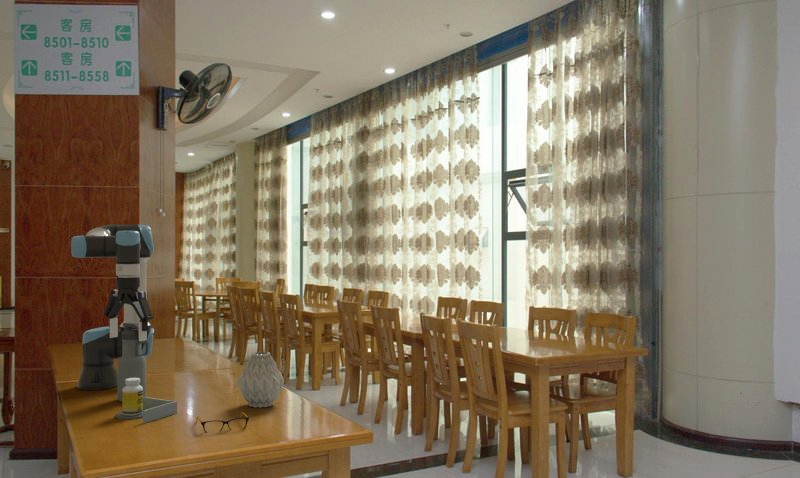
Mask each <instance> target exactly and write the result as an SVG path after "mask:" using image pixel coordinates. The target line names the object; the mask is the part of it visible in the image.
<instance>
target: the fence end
mask: <svg viewBox="0 0 800 478" xmlns="http://www.w3.org/2000/svg"><path fill="white" fill-rule="evenodd" d="M176 414H178V401H177V400H176V401H175V400H174V401H173V402H170V403H167V404H163V405H160V406H157V407H153V408H150V409H143V418H142V423H143V424H147V423H150V422H154V421H156V420H159V419H163V418H166V417H169V416H173V415H176Z"/></svg>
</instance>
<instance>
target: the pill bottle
mask: <svg viewBox="0 0 800 478" xmlns="http://www.w3.org/2000/svg"><path fill="white" fill-rule="evenodd" d="M139 383H140V378H128V379H125V384H126V386H125V387H124V388H123V390H122V402H121V412H122V414H123V415H126V416H134V415H139V414H141V413H142V412H143V410H144V409H143V387H142V386H140V385H139Z"/></svg>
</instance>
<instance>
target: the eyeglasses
mask: <svg viewBox="0 0 800 478" xmlns="http://www.w3.org/2000/svg"><path fill="white" fill-rule="evenodd" d="M243 415H244V416H245V417H244V416H243ZM242 416H243V417H242ZM243 419H244V420H245V425H244V427H243V428H242V429H246V427H247V424H248V421H249V416H248V415H247V414H246V413H245V412H244V411H241V412H240V417H236V418H232V419H229V420H217V422H219V423H222V426H221V429H219V432H222V430H223V428H224V426H225V425H227V427H228V429H229V431H232V428H231V427H230V426H229V424H230V423H229V422H232V421H235V420H243ZM198 421H199V423H200V424H201V426H202V429H203V431H204V433H208V434H209V431H207V430H206V429H205V426H206V423H211V422H214V423H215V420H208V421H207V420H205V421H202V420H201V418H200V417H199V416H197V417H196V420H195V422H196V423H198Z"/></svg>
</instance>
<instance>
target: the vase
mask: <svg viewBox="0 0 800 478" xmlns="http://www.w3.org/2000/svg"><path fill="white" fill-rule="evenodd" d="M278 368H279V367H278V365H277V362H276V361H275V359H274V358H273V356H272V355H271V352H269V351H256V352H252V353H251V356H250V357H249V358H248V361H247V362H246V363H245V366H244V369H243V372H242V373H241V374H240V375H239V378H238V380H237V386H238V388H239V390H240V392H241V395H242V397H243V399H244V401H245V402H247V406H249V407H251V408H254V409H255V408H260V409H261V408H267V407H269V408H270V407H272V406H273V405H274V404H275V401H276V400H277V398H278V397H279V395H280V393H281V390H282V387H283V385H284V384H285V380H284V377H283V374H282V373H281V371H280V370H279V369H278Z"/></svg>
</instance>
